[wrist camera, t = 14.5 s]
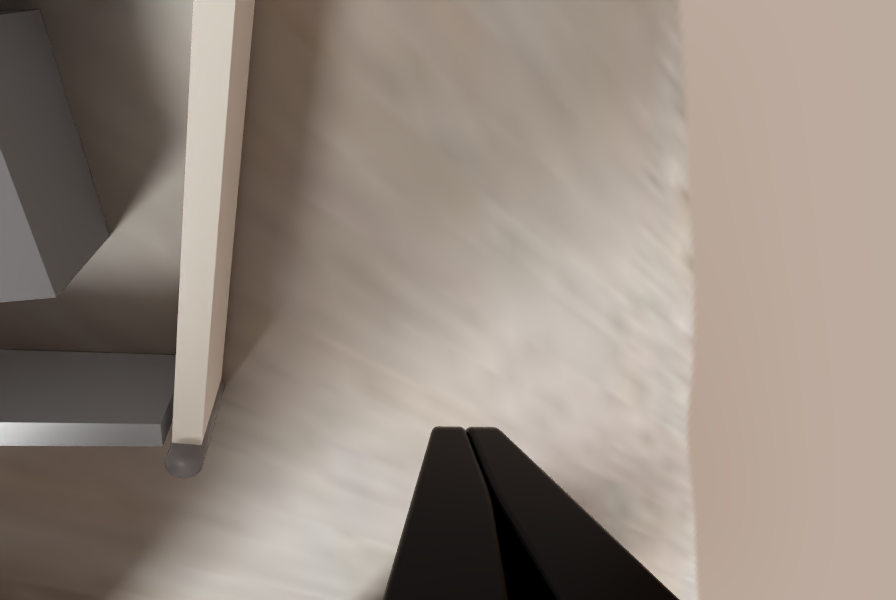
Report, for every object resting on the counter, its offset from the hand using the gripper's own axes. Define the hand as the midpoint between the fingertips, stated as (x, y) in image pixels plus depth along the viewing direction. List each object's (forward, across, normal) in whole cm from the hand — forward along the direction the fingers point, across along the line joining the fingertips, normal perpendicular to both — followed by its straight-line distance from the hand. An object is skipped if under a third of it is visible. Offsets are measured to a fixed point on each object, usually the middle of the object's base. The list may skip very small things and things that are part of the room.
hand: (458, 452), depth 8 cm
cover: (+12, +5, +1) cm, 13 cm away
